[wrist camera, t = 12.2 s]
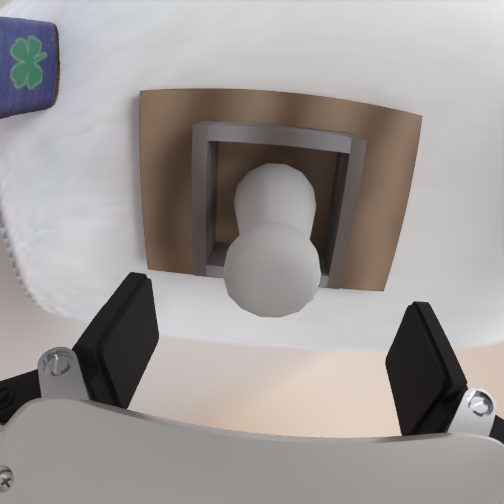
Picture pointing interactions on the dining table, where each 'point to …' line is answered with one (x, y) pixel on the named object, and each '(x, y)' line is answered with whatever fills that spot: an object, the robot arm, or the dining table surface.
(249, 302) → the salt shaker
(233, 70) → the dining table surface
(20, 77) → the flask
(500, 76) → the dining table surface
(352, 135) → the holder board
